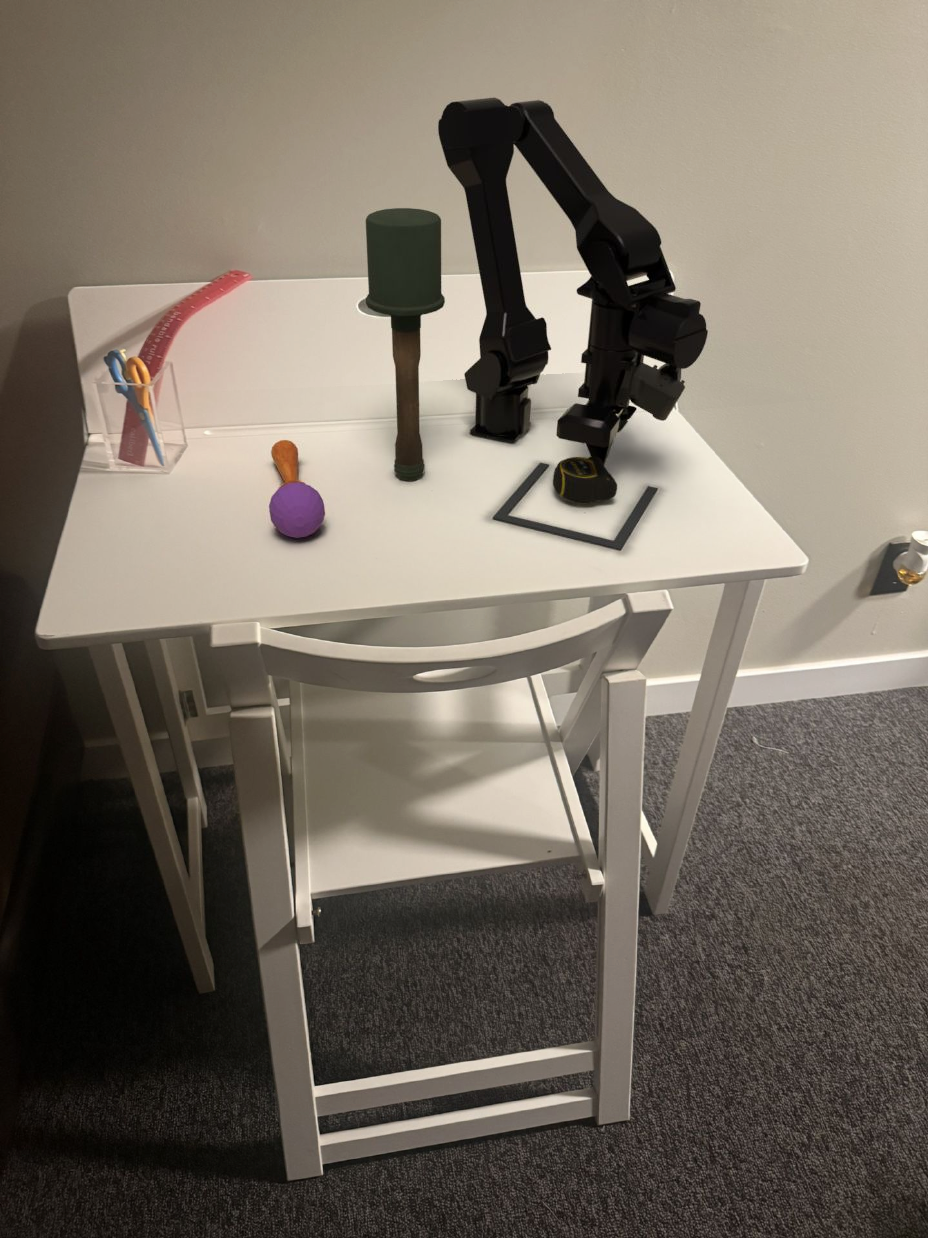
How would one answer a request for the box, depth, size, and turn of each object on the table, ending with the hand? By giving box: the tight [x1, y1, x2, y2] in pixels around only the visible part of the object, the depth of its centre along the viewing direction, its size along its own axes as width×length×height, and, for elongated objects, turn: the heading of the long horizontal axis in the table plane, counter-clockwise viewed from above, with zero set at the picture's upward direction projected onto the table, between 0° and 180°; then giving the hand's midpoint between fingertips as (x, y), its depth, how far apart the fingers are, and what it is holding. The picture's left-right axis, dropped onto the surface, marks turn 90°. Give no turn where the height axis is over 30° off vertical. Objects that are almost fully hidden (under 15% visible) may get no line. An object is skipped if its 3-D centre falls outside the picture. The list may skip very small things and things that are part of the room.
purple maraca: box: [268, 439, 326, 539], centre depth 104 cm, size 6×6×20 cm
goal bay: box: [492, 462, 658, 551], centre depth 106 cm, size 15×15×1 cm
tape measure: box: [552, 456, 618, 505], centre depth 107 cm, size 7×7×4 cm
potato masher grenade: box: [365, 207, 446, 482], centre depth 102 cm, size 8×9×30 cm
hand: (599, 466), depth 111 cm, fingers closed
